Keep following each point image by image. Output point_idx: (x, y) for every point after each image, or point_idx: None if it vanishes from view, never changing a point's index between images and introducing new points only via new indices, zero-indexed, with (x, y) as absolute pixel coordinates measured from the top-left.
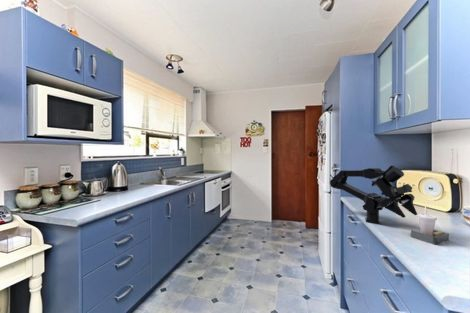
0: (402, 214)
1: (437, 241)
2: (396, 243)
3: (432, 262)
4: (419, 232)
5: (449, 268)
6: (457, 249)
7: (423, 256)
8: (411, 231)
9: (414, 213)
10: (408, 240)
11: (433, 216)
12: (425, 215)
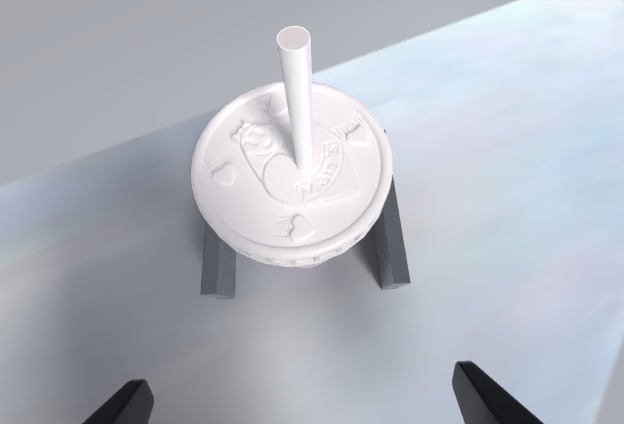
0: (507, 404)
1: None
2: (608, 247)
3: (599, 57)
4: (393, 223)
5: (573, 17)
6: None
7: (588, 98)
8: (405, 280)
9: (138, 421)
10: (475, 252)
11: (220, 129)
12: (312, 158)
